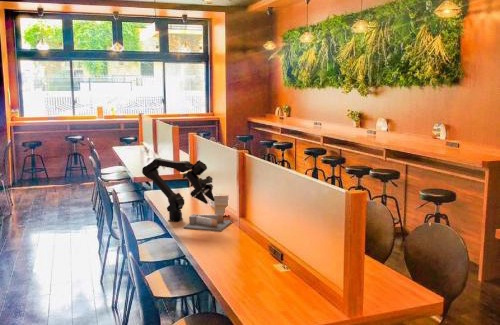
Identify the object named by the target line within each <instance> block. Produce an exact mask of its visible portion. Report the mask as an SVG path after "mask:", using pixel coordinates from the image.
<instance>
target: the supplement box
mask: <svg viewBox="0 0 500 325" xmlns="http://www.w3.org/2000/svg"><path fill="white" fill-rule="evenodd" d="M227 194H228V193H214V194H213V197H214V200H215V201H213V203H214V204H213V205H214V215H223V216H224V213H225V208H226V207H227V206H228V200H229V194H228V195H227Z"/></svg>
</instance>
